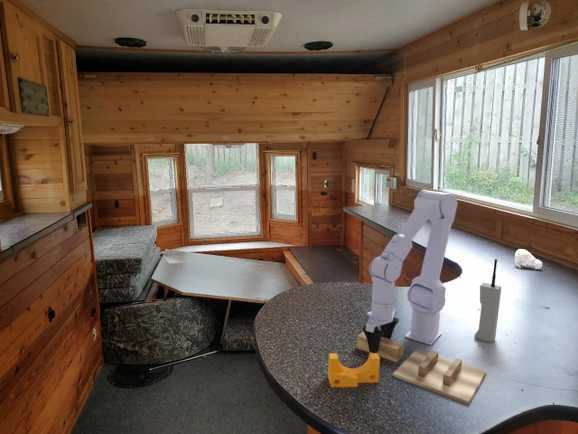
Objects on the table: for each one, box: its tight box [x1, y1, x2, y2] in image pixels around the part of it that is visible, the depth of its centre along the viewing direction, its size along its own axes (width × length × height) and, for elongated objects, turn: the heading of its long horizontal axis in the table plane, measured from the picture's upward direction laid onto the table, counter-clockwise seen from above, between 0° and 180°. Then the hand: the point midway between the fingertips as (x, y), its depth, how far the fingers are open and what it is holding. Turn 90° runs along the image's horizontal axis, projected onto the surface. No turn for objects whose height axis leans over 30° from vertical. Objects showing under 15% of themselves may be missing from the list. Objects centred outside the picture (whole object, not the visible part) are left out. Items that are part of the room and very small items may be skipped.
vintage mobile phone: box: [474, 258, 502, 344], centre depth 123 cm, size 4×5×25 cm
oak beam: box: [356, 331, 405, 363], centre depth 116 cm, size 4×12×4 cm, turn 52°
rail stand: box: [392, 348, 487, 406], centre depth 105 cm, size 16×18×3 cm
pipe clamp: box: [327, 352, 381, 388], centre depth 101 cm, size 12×4×6 cm, turn 93°
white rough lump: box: [514, 248, 543, 270], centre depth 198 cm, size 6×8×12 cm
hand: (379, 347), depth 116 cm, fingers open, 7 cm apart
